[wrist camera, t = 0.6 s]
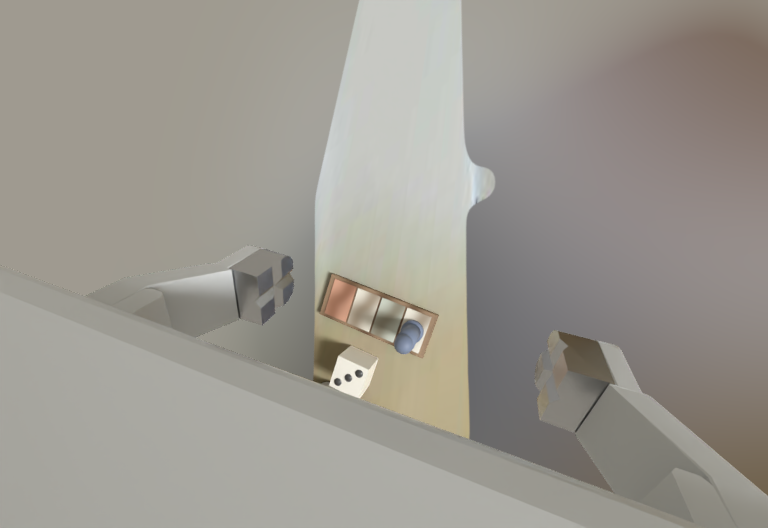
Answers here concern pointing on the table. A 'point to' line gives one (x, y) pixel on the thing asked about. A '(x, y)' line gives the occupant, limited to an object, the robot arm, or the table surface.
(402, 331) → the pawn
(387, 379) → the table surface
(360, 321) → the board
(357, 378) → the die
